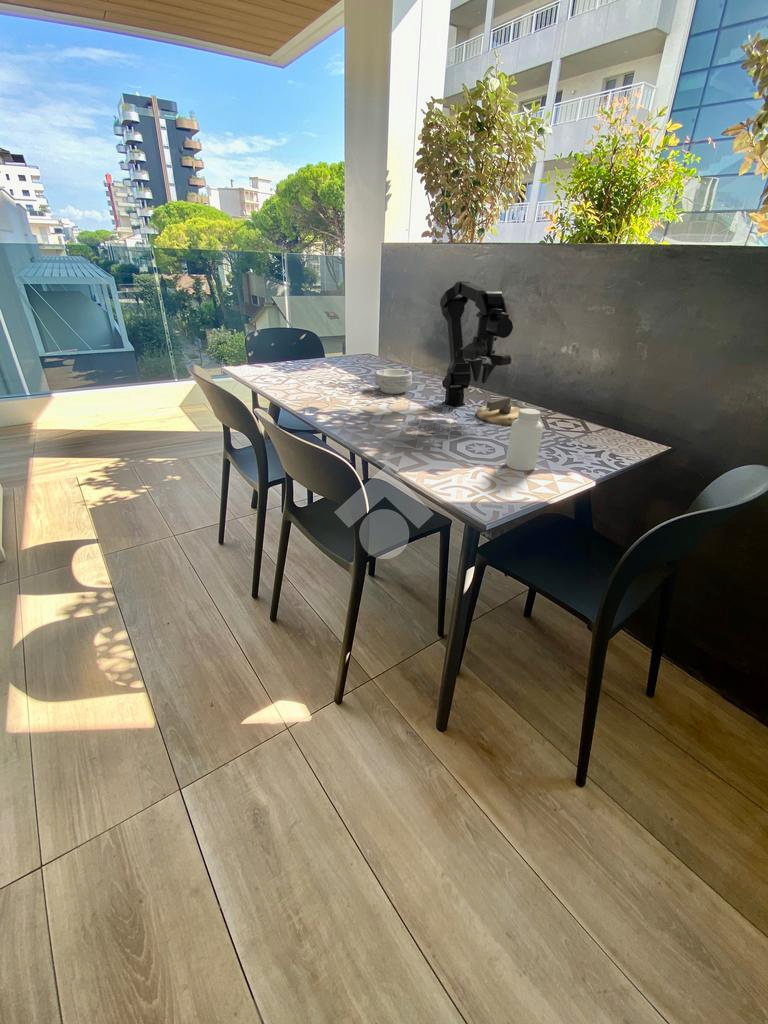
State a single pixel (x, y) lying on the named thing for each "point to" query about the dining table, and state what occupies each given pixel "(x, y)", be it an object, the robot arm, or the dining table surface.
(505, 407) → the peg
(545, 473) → the dining table surface
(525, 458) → the pill bottle
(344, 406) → the dining table surface
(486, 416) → the dial board
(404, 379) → the white stone bowl
